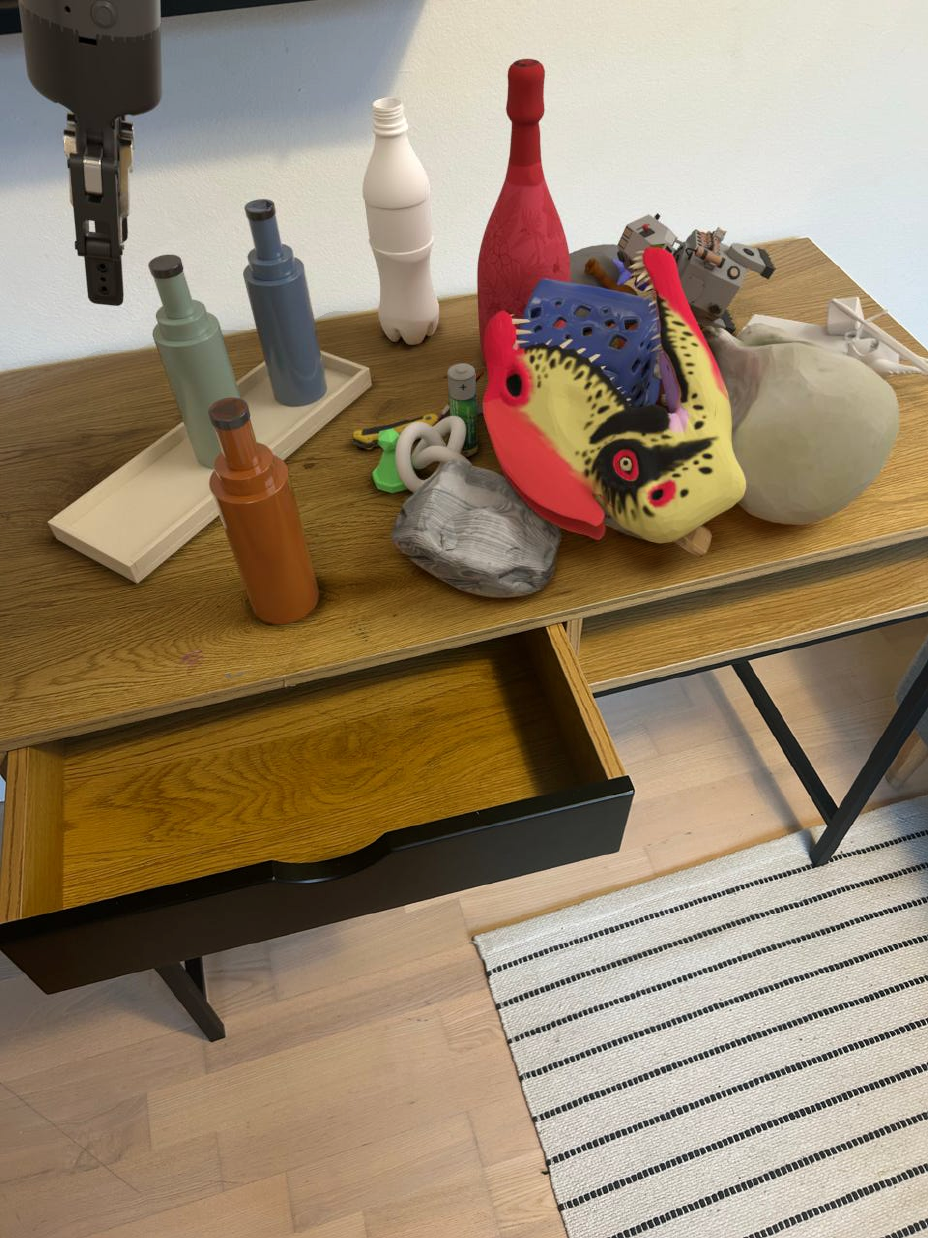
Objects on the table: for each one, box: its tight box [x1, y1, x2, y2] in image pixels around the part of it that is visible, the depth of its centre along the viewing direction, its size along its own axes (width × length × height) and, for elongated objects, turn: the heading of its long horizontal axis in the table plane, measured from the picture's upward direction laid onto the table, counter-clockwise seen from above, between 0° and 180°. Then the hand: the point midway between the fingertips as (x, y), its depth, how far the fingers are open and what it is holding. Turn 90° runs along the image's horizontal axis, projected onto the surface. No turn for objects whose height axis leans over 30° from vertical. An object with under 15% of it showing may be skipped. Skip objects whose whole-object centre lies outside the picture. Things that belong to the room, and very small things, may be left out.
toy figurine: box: [584, 258, 639, 341], centre depth 97 cm, size 12×4×7 cm
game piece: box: [371, 428, 417, 494], centre depth 83 cm, size 4×4×6 cm
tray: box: [47, 349, 373, 585], centre depth 88 cm, size 35×11×2 cm, turn 147°
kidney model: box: [569, 243, 652, 318], centre depth 103 cm, size 15×7×18 cm
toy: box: [482, 248, 746, 544], centre depth 73 cm, size 7×27×20 cm
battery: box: [447, 363, 479, 458], centre depth 84 cm, size 3×3×10 cm
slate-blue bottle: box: [242, 198, 327, 407], centre depth 87 cm, size 6×6×20 cm
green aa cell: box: [433, 369, 486, 426], centre depth 89 cm, size 8×1×5 cm
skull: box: [653, 323, 900, 526], centre depth 76 cm, size 15×18×20 cm
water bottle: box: [362, 97, 440, 346], centre depth 93 cm, size 7×7×25 cm
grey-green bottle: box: [147, 254, 241, 469], centre depth 81 cm, size 6×6×20 cm
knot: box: [395, 416, 474, 494], centre depth 82 cm, size 8×8×6 cm
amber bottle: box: [208, 397, 320, 625], centre depth 68 cm, size 6×6×20 cm
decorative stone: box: [390, 459, 562, 599], centre depth 76 cm, size 14×14×10 cm
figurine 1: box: [616, 213, 777, 336], centre depth 97 cm, size 9×12×15 cm
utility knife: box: [352, 403, 483, 450], centre depth 90 cm, size 16×1×3 cm
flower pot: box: [518, 279, 660, 408], centre depth 84 cm, size 13×13×12 cm
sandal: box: [596, 500, 713, 558], centre depth 77 cm, size 7×16×5 cm
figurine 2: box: [739, 296, 928, 380], centre depth 90 cm, size 12×8×25 cm
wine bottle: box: [476, 58, 570, 366], centre depth 87 cm, size 10×10×30 cm
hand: (109, 269), depth 61 cm, fingers open, 8 cm apart
